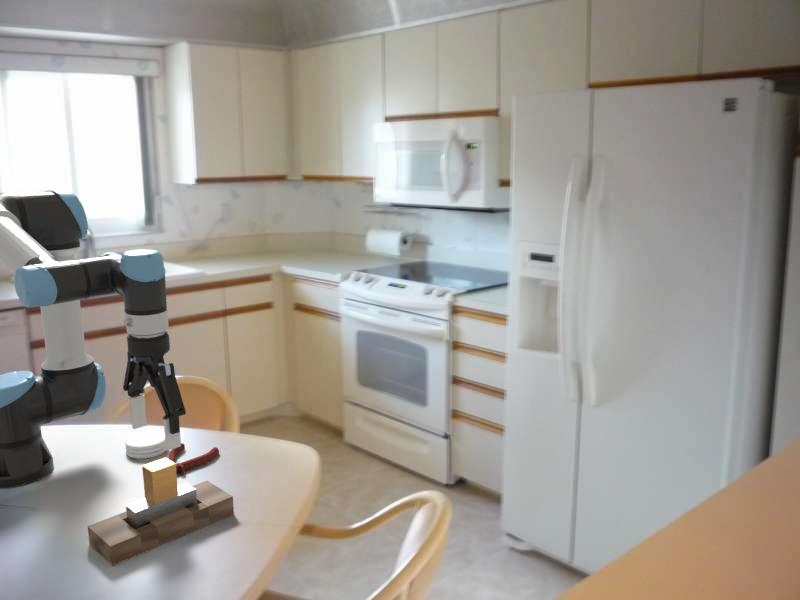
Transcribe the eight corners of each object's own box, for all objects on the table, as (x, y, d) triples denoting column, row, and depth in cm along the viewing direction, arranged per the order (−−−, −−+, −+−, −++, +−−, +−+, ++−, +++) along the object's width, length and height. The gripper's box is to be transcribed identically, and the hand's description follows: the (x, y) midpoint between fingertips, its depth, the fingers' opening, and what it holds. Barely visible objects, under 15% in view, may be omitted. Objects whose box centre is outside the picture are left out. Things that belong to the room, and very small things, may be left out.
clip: (128, 537, 143) (122, 472, 140) (188, 513, 152) (183, 451, 149) (138, 545, 140) (132, 479, 137) (198, 520, 149) (193, 457, 146)
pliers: (132, 487, 164) (131, 477, 163) (180, 450, 183) (179, 441, 182) (177, 494, 161) (176, 483, 161) (221, 455, 180) (220, 445, 180)
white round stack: (174, 451, 181) (173, 438, 181) (135, 463, 175) (134, 450, 174) (158, 439, 189) (157, 426, 188) (120, 450, 182) (118, 437, 182)
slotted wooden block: (89, 544, 141) (87, 526, 140) (208, 497, 159) (207, 480, 158) (112, 566, 134) (110, 546, 133) (233, 513, 152) (232, 496, 151)
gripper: (99, 323, 143) (109, 423, 148) (161, 351, 126) (170, 464, 131) (136, 316, 148) (144, 413, 153) (200, 342, 131) (207, 451, 136)
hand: (156, 437), depth 142 cm, fingers open, 13 cm apart
